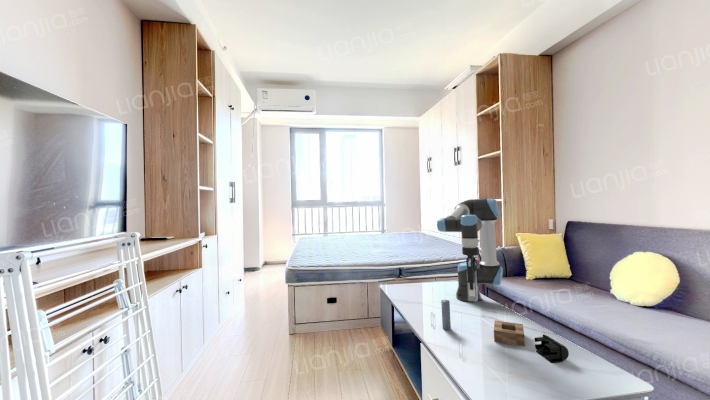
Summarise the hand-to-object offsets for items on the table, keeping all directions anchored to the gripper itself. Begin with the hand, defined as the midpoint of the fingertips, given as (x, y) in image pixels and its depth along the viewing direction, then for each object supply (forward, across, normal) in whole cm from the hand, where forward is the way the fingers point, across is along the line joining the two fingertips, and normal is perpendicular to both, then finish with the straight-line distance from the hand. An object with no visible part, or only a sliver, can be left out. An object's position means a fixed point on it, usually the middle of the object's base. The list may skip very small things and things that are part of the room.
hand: (472, 294), depth 141 cm
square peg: (+3, 0, 0) cm, 3 cm away
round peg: (+19, 0, +13) cm, 23 cm away
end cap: (+19, -11, -30) cm, 37 cm away
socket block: (+19, 0, -15) cm, 24 cm away
